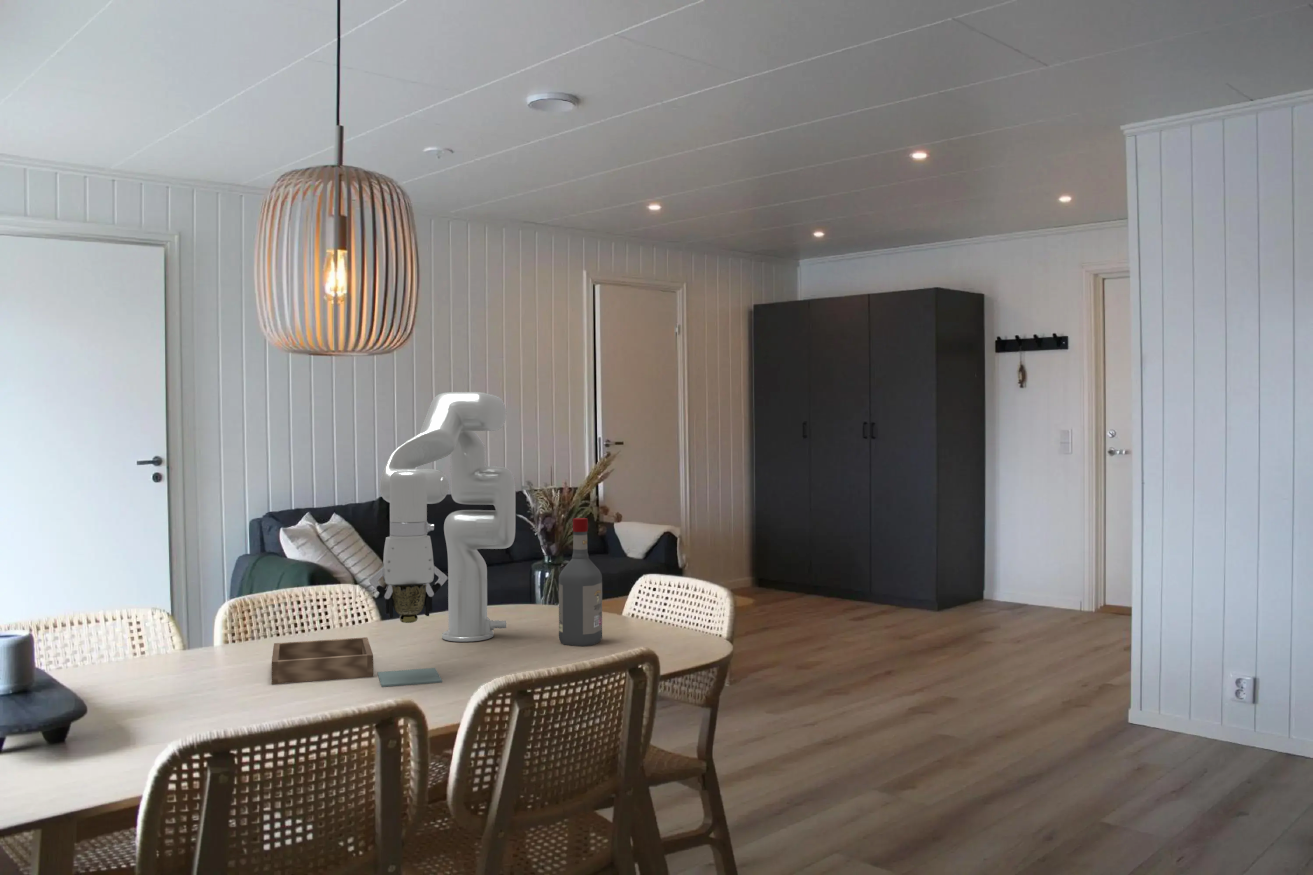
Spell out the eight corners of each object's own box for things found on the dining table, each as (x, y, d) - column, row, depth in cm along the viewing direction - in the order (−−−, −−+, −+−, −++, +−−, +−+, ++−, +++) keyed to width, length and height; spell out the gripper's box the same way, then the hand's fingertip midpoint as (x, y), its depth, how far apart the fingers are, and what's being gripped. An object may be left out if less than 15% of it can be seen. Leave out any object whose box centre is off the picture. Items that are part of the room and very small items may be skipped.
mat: (435, 669, 227) (435, 667, 227) (442, 682, 216) (442, 680, 216) (377, 673, 223) (377, 671, 223) (381, 686, 212) (381, 684, 212)
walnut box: (367, 656, 240) (367, 637, 240) (373, 676, 221) (373, 654, 221) (274, 663, 234) (273, 643, 234) (271, 684, 215) (271, 661, 215)
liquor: (605, 639, 259) (604, 517, 259) (590, 647, 250) (590, 520, 250) (571, 637, 262) (570, 516, 262) (555, 644, 253) (555, 519, 253)
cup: (431, 619, 223) (431, 581, 223) (420, 625, 215) (420, 586, 215) (397, 618, 223) (397, 580, 223) (385, 624, 216) (385, 585, 216)
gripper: (448, 527, 226) (448, 610, 226) (364, 530, 220) (364, 615, 220) (453, 530, 219) (453, 616, 219) (366, 533, 213) (366, 621, 213)
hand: (408, 615), depth 219 cm, fingers closed on cup, 6 cm apart
